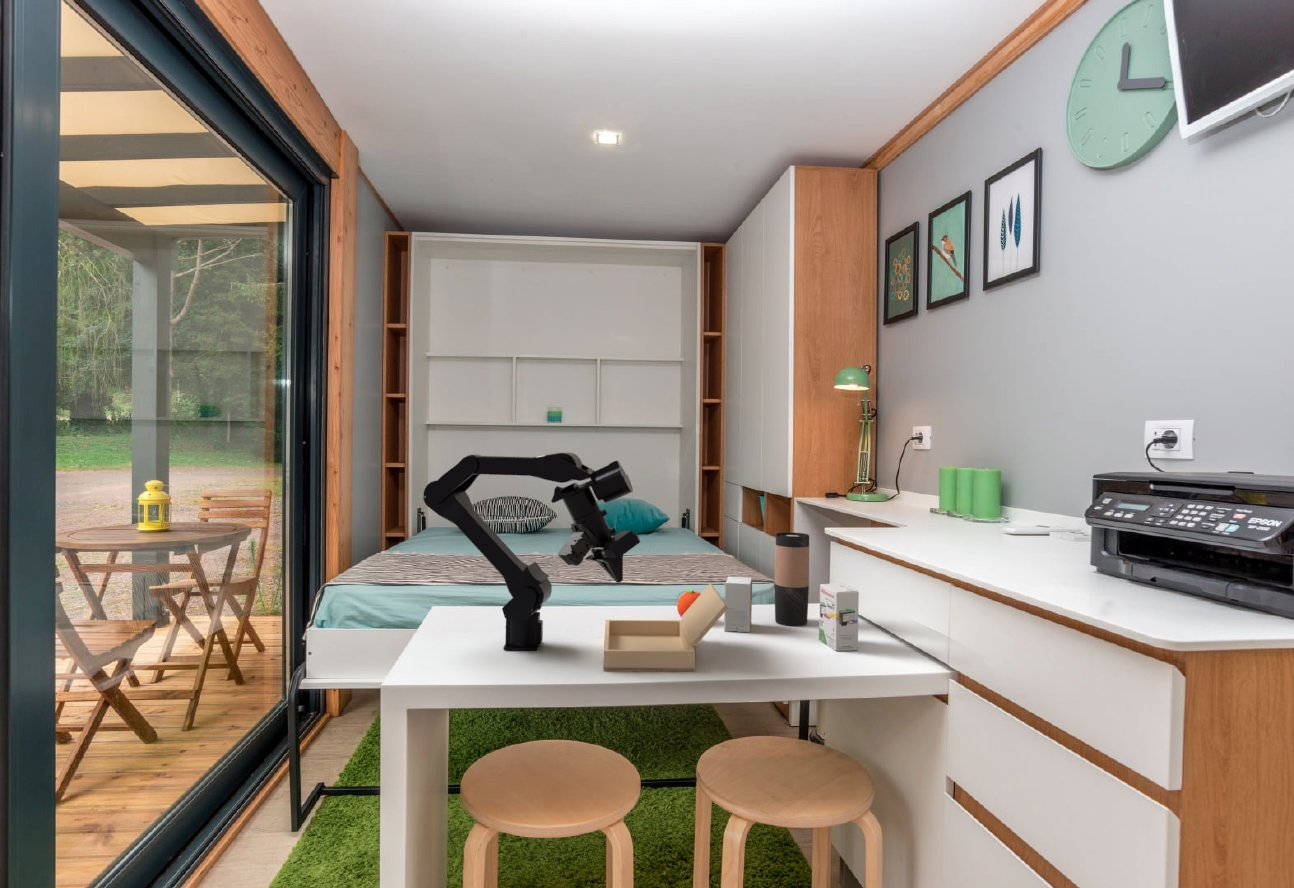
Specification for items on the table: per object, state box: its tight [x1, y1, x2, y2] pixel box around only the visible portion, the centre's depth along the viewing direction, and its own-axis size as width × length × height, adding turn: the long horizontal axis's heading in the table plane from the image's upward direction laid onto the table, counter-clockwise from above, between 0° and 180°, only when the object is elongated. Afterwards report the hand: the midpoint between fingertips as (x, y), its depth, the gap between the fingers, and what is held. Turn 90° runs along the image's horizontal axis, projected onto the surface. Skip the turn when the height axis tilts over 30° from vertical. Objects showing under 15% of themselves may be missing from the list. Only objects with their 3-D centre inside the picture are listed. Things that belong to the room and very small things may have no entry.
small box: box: [723, 576, 753, 633], centre depth 153 cm, size 8×6×10 cm
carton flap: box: [680, 583, 728, 647], centre depth 134 cm, size 1×20×9 cm
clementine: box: [676, 590, 701, 619], centre depth 158 cm, size 8×7×7 cm
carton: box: [602, 619, 696, 672], centre depth 134 cm, size 16×22×4 cm
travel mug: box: [774, 531, 810, 627], centre depth 159 cm, size 8×8×20 cm
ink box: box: [818, 582, 860, 652], centre depth 141 cm, size 8×5×12 cm, turn 9°
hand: (619, 581), depth 138 cm, fingers closed
